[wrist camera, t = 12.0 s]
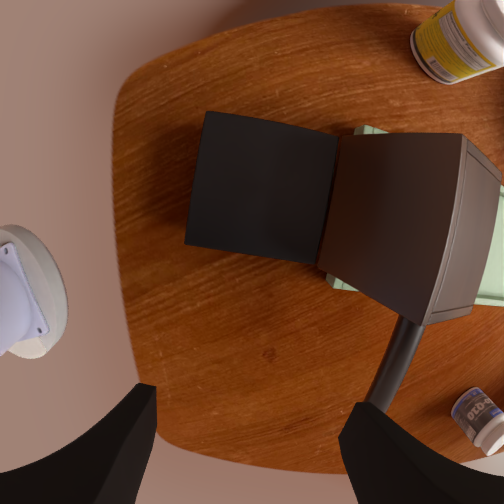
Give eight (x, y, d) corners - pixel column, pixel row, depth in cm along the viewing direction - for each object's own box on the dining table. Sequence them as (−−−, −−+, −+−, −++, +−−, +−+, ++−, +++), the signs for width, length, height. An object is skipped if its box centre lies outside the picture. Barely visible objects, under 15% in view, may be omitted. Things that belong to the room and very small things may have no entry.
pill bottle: (480, 379, 23) (520, 417, 15) (476, 402, 24) (511, 439, 16) (450, 401, 24) (488, 446, 15) (448, 422, 25) (481, 465, 16)
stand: (193, 233, 18) (183, 244, 14) (211, 123, 16) (205, 109, 13) (301, 250, 18) (315, 265, 15) (320, 144, 17) (339, 136, 14)
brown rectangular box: (355, 455, 10) (416, 423, 12) (462, 132, 7) (502, 172, 9) (287, 376, 17) (348, 365, 19) (342, 135, 14) (401, 160, 16)
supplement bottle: (443, 30, 15) (515, -8, 5) (466, 86, 16) (550, 64, 7) (397, 25, 15) (470, -32, 5) (422, 85, 16) (515, 50, 7)
